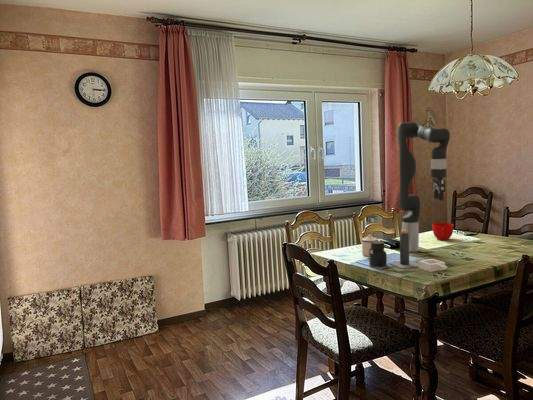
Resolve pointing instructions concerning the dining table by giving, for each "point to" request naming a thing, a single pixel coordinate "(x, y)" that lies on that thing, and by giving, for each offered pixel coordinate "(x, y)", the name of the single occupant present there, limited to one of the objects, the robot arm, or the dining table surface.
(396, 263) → the grey felt mat
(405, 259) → the black cable stub
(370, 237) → the teacup with lid
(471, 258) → the dining table surface
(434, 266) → the square ring with handle
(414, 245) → the robot arm
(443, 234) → the ceramic cup
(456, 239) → the dining table surface
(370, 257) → the ink bottle
